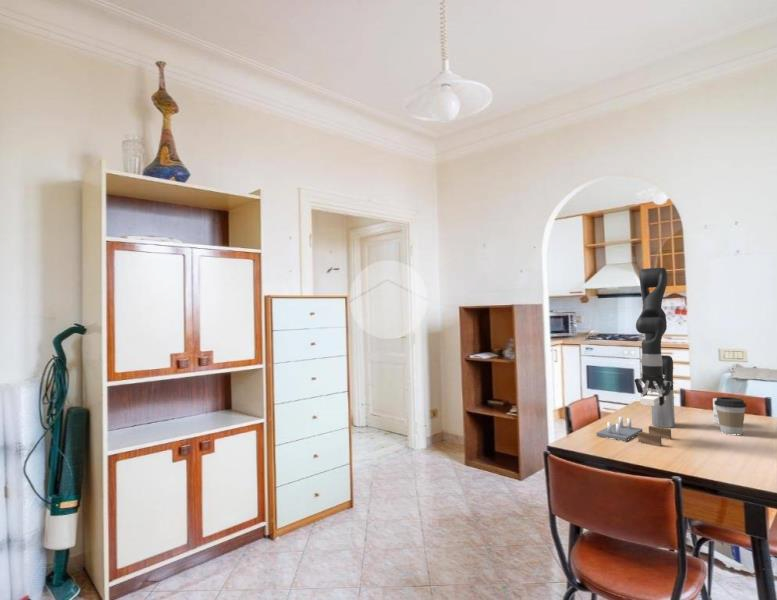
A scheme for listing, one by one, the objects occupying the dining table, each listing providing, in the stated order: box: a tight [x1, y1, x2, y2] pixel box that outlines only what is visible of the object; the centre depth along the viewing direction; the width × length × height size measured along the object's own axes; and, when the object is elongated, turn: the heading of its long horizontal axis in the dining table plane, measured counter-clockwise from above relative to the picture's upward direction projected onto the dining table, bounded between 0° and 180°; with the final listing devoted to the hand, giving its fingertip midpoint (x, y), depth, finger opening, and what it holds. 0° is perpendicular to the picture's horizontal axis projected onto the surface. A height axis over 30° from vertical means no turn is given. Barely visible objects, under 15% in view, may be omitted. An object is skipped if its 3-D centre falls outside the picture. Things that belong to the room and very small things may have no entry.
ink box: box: [712, 397, 720, 425], centre depth 206 cm, size 9×5×12 cm, turn 179°
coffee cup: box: [714, 396, 747, 436], centre depth 193 cm, size 11×11×15 cm
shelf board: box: [639, 392, 666, 406], centre depth 185 cm, size 16×5×2 cm, turn 132°
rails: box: [637, 425, 672, 447], centre depth 184 cm, size 15×8×4 cm, turn 132°
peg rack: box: [596, 416, 643, 442], centre depth 195 cm, size 20×12×6 cm, turn 132°
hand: (653, 404), depth 185 cm, fingers closed on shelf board, 5 cm apart
